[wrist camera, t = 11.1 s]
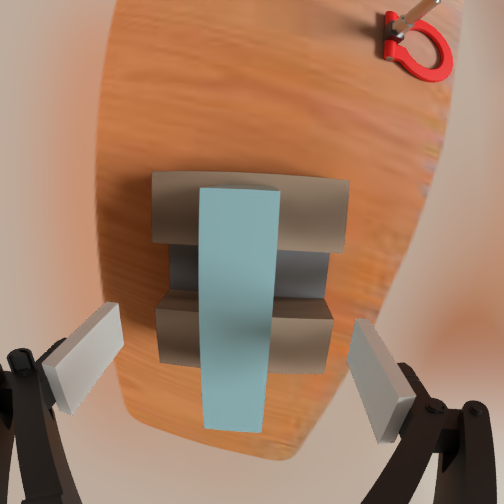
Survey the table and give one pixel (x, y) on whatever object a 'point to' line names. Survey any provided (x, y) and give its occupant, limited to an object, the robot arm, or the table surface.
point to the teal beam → (236, 301)
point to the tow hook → (411, 21)
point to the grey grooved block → (286, 274)
